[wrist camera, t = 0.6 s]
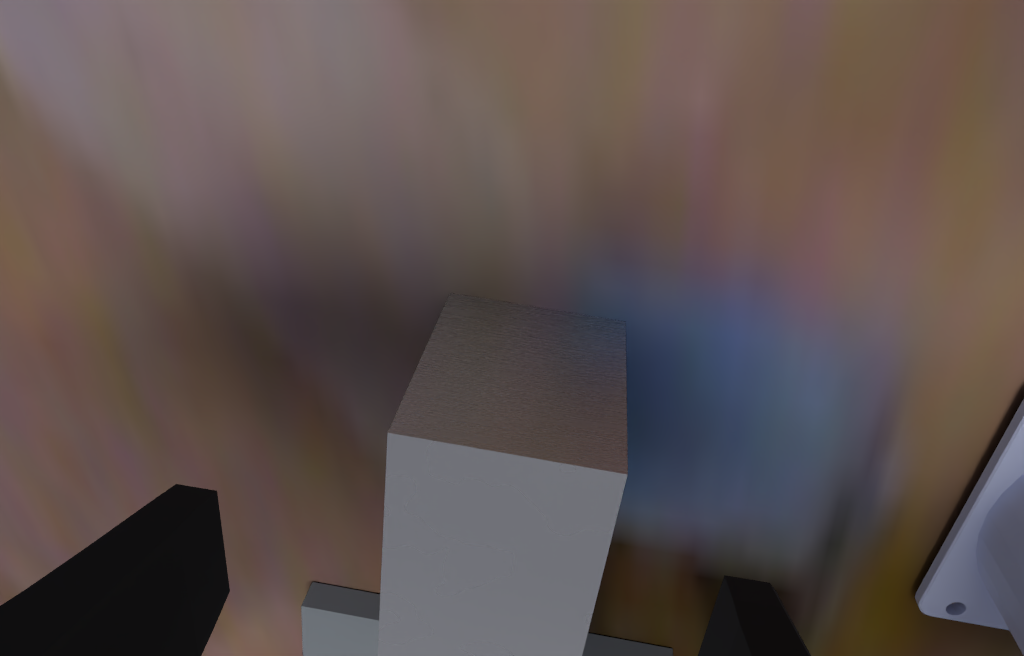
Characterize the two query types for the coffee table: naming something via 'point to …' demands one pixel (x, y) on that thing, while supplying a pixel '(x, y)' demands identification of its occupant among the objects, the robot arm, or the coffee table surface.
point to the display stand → (355, 627)
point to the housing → (503, 483)
